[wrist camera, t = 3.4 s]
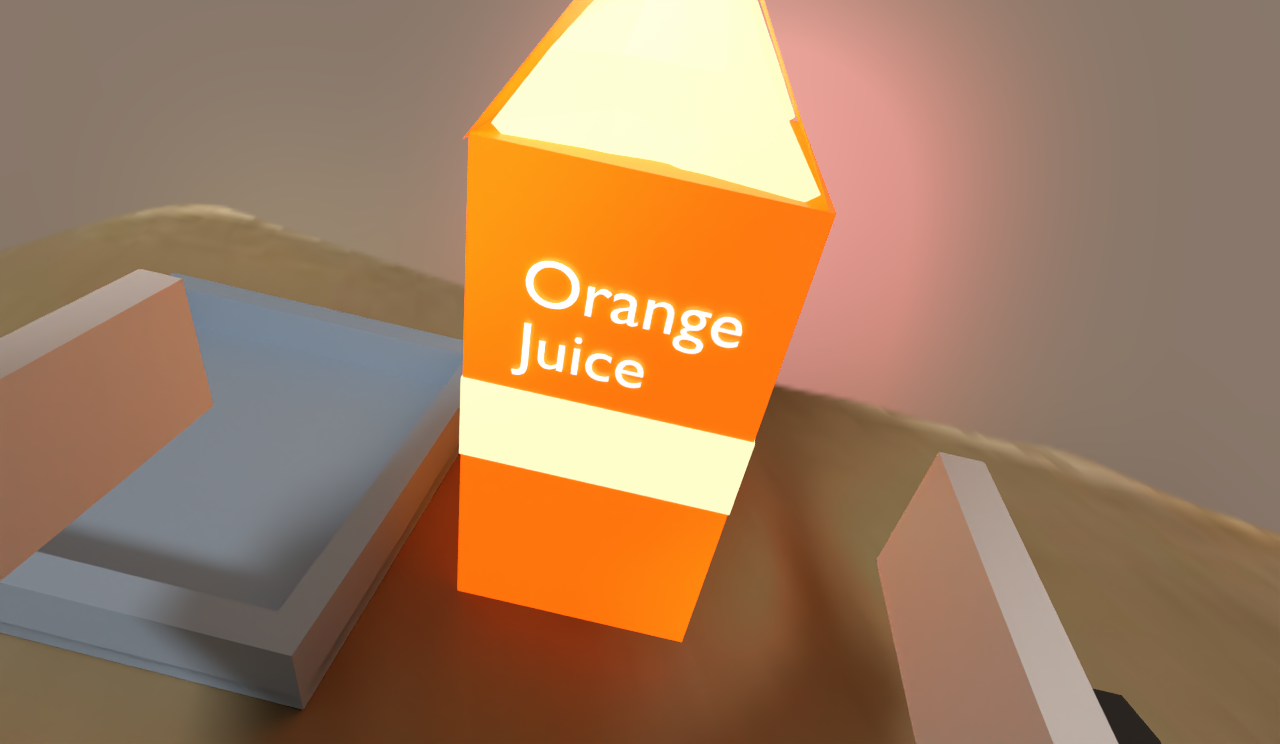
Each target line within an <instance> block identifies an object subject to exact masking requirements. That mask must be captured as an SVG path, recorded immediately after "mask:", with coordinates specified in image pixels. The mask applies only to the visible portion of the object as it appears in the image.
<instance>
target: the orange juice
mask: <svg viewBox="0 0 1280 744" xmlns="http://www.w3.org/2000/svg"><path fill="white" fill-rule="evenodd" d="M760 1H761V5H762V8H763V11H764V14H765V18H766V21H767V24H768V27H769V30H770V33H771V37H772V40H773V43H774V46H775V49H776V53H777V55H778V59H779V62H780V65H781V69H782V72H783V75H784V78H785V81H786V84H787V88H788V91H789V94H790V97H791V100H792V104H793V107H794V110H795V113H796V117H797V120H798V122H797V121H792V120H791V119H792V118H794V117H795V115H794V112H793V108H792V105H791V102H790V100H789V96H788V93H787V90H786V86H785V83H784V80H783V77H782V74H781V70H780V67H779V64H778V61H777V58H776V54H775V52H774V48H773V46H772V42H771V39H770V36H769V33H768V30H767V27H766V24H765V22H764V18H763V15H762V12H761V9H760V7H759V3H758V0H573V2H572V3H571V4H570V5H569V7H568V8H567V9H566V10H565V12H564V13H563V14H562V15H561V17H560V18H559V19H558V20H557V22H556V23H555V24H554V26H553V27H552V28H551V29H550V30H549V32H548V33H547V34H546V35H545V37H544V38H543V39H542V41H541V42H540V43H539V44H538V45H537V47H536V48H535V49H534V50H533V52H532V53H531V54H530V55H529V57H528V58H527V59H526V60H525V62H524V63H523V64H522V66H521V67H520V68H519V69H518V70H517V72H516V73H515V74H514V75H513V77H512V78H511V79H510V80H509V82H508V83H507V84H506V86H505V87H504V88H503V89H502V91H501V92H500V93H499V94H498V95H497V97H496V98H495V99H494V101H493V102H492V103H491V104H490V106H489V107H488V108H487V109H486V111H485V112H484V113H483V114H482V116H481V117H480V118H479V119H478V121H477V122H476V123H475V124H474V126H473V127H472V128H471V130H470V131H469V132H468V133H467V134H466V136H465V137H467V136H469V148H468V149H469V150H468V190H467V191H468V192H467V227H466V228H467V229H466V267H465V268H466V269H465V305H464V345H463V375H462V376H461V384H460V426H459V454H461V462H460V502H459V541H458V580H457V590H458V591H463V592H467V593H471V594H476V595H480V596H484V597H489V598H493V599H497V600H502V601H506V602H510V603H514V604H519V605H523V606H527V607H532V608H536V609H540V610H545V611H549V612H553V613H558V614H562V615H566V616H571V617H575V618H579V619H584V620H588V621H592V622H596V623H601V624H605V625H609V626H614V627H618V628H622V629H627V630H631V631H635V632H640V633H644V634H648V635H653V636H657V637H661V638H666V639H670V640H674V641H678V642H682V640H683V637H684V634H685V632H686V629H687V626H688V623H689V621H690V618H691V615H692V612H693V609H694V607H695V604H696V601H697V598H698V596H699V593H700V590H701V587H702V584H703V582H704V579H705V576H706V573H707V571H708V568H709V565H710V562H711V559H712V557H713V554H714V551H715V548H716V546H717V543H718V540H719V537H720V535H721V532H722V529H723V526H724V523H725V521H726V518H727V515H730V512H731V509H732V506H733V504H734V501H735V498H736V495H737V492H738V490H739V487H740V484H741V481H742V479H743V476H744V473H745V470H746V468H747V465H748V462H749V459H750V457H751V454H752V451H753V448H754V446H755V437H756V435H757V432H758V429H759V426H760V424H761V421H762V418H763V415H764V412H765V410H766V407H767V404H768V401H769V399H770V396H771V393H772V390H773V387H774V385H775V382H776V379H777V376H778V374H779V371H780V368H781V364H782V362H783V360H784V357H785V354H786V351H787V349H788V346H789V343H790V340H791V338H792V335H793V332H794V329H795V326H796V324H797V321H798V318H799V315H800V313H801V310H802V307H803V304H804V301H805V299H806V296H807V293H808V290H809V287H810V285H811V282H812V279H813V276H814V274H815V271H816V268H817V265H818V263H819V260H820V257H821V254H822V251H823V249H824V246H825V243H826V240H827V238H828V235H829V232H830V229H831V227H832V224H833V221H834V218H835V215H836V212H835V209H834V207H833V204H832V201H831V199H830V196H829V193H828V191H827V188H826V185H825V183H824V180H823V178H822V175H821V172H820V169H819V167H818V164H817V161H816V159H815V156H814V153H813V151H812V148H811V145H810V143H809V140H808V137H807V135H806V132H805V129H804V127H803V124H802V121H801V118H800V115H799V111H798V108H797V105H796V102H795V99H794V96H793V92H792V89H791V86H790V82H789V79H788V76H787V73H786V69H785V66H784V63H783V60H782V57H781V53H780V50H779V47H778V44H777V40H776V37H775V34H774V31H773V27H772V24H771V21H770V18H769V15H768V12H767V8H766V5H765V2H764V0H760ZM465 137H464V138H465Z"/></svg>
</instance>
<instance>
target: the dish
mask: <svg viewBox="0 0 1280 744" xmlns="http://www.w3.org/2000/svg"><path fill="white" fill-rule="evenodd" d="M169 276H173V277H177V278H182V279H183V283H184V287H185V291H186V295H187V300H188V304H189V308H190V312H191V316H192V320H193V324H194V328H195V332H196V336H197V340H198V344H199V348H200V352H201V356H202V360H203V364H204V368H205V373H206V377H207V381H208V385H209V389H210V393H211V397H212V401H213V405H214V406H213V407H211V408H210V409H209V410H208V411H207V412H205V413H204V414H203V415H202V416H201V417H199V418H198V419H197V420H196V421H194V422H193V423H192V424H191V425H190V426H188V427H187V428H186V429H185V430H184V431H182V432H181V433H180V434H179V435H177V436H176V437H175V438H174V439H173V440H171V441H170V442H169V443H168V444H167V445H165V446H164V447H163V448H162V449H160V450H159V451H158V452H157V453H156V454H154V455H153V456H152V457H151V458H149V459H148V460H147V461H146V462H145V463H143V464H142V465H141V466H140V467H139V468H137V469H136V470H135V471H134V472H132V473H131V474H130V475H129V476H128V477H126V478H125V479H124V480H123V481H122V482H120V483H119V484H118V485H117V486H115V487H114V488H113V489H112V490H111V491H109V492H108V493H107V494H106V495H105V496H103V497H102V498H101V499H100V500H98V501H97V502H96V503H95V504H94V505H92V506H91V507H90V508H89V509H87V510H86V511H85V512H84V513H83V514H81V515H80V516H79V517H78V518H77V519H75V520H74V521H73V522H72V523H70V524H69V525H68V526H67V527H66V528H64V529H63V530H62V531H61V532H60V533H58V534H57V535H56V536H55V537H53V538H52V539H51V540H50V541H49V542H47V543H46V544H45V545H44V546H43V547H41V548H40V549H39V550H38V551H36V552H35V553H34V554H33V555H32V556H30V557H29V558H28V559H27V560H25V561H24V562H23V563H22V564H21V565H19V566H18V567H17V568H16V569H15V570H13V571H12V572H11V573H10V574H8V575H7V576H6V577H5V578H4V579H2V580H1V581H0V633H3V634H7V635H11V636H15V637H19V638H23V639H27V640H31V641H35V642H39V643H43V644H47V645H51V646H55V647H58V648H62V649H66V650H70V651H74V652H78V653H82V654H86V655H90V656H94V657H98V658H102V659H106V660H110V661H113V662H117V663H121V664H125V665H129V666H133V667H137V668H141V669H145V670H149V671H153V672H157V673H161V674H165V675H168V676H172V677H176V678H180V679H184V680H188V681H192V682H196V683H200V684H204V685H208V686H212V687H216V688H219V689H223V690H227V691H231V692H235V693H239V694H243V695H247V696H251V697H255V698H259V699H263V700H267V701H271V702H274V703H278V704H282V705H286V706H290V707H294V708H298V709H302V710H304V708H305V707H306V705H307V703H308V702H309V700H310V698H311V697H312V695H313V693H314V692H315V690H316V689H317V687H318V685H319V684H320V682H321V680H322V679H323V677H324V675H325V674H326V672H327V670H328V669H329V667H330V665H331V664H332V662H333V661H334V659H335V657H336V656H337V654H338V652H339V651H340V649H341V647H342V646H343V644H344V642H345V641H346V639H347V637H348V636H349V634H350V633H351V631H352V629H353V628H354V626H355V624H356V623H357V621H358V619H359V618H360V616H361V614H362V613H363V611H364V609H365V608H366V606H367V605H368V603H369V601H370V600H371V598H372V596H373V595H374V593H375V591H376V590H377V588H378V586H379V585H380V583H381V581H382V580H383V578H384V577H385V575H386V573H387V572H388V570H389V568H390V567H391V565H392V563H393V562H394V560H395V558H396V557H397V555H398V553H399V552H400V550H401V548H402V547H403V545H404V544H405V542H406V540H407V539H408V537H409V535H410V534H411V532H412V530H413V529H414V527H415V525H416V524H417V522H418V520H419V519H420V517H421V516H422V514H423V512H424V511H425V509H426V507H427V506H428V504H429V502H430V501H431V499H432V497H433V496H434V494H435V492H436V491H437V489H438V488H439V486H440V484H441V483H442V481H443V479H444V478H445V476H446V474H447V473H448V471H449V469H450V468H451V466H452V464H453V463H454V461H455V460H456V458H457V456H458V455H459V426H460V384H461V376H462V375H463V345H464V341H463V340H459V339H455V338H450V337H446V336H442V335H438V334H433V333H429V332H425V331H421V330H416V329H412V328H408V327H403V326H399V325H395V324H391V323H386V322H382V321H378V320H374V319H369V318H365V317H361V316H357V315H352V314H348V313H344V312H340V311H335V310H331V309H327V308H322V307H318V306H314V305H310V304H305V303H301V302H297V301H293V300H288V299H284V298H280V297H276V296H271V295H267V294H263V293H259V292H254V291H250V290H246V289H241V288H237V287H233V286H229V285H224V284H220V283H216V282H212V281H207V280H203V279H199V278H195V277H190V276H186V275H182V274H178V273H172V274H171V275H169Z"/></svg>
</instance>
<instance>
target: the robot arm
mask: <svg viewBox="0 0 1280 744" xmlns="http://www.w3.org/2000/svg"><path fill="white" fill-rule="evenodd" d="M213 406H214V405H213V401H212V397H211V393H210V389H209V385H208V381H207V377H206V373H205V368H204V364H203V360H202V356H201V352H200V348H199V344H198V340H197V336H196V332H195V328H194V324H193V320H192V316H191V312H190V308H189V304H188V300H187V295H186V291H185V287H184V283H183V279H182V278H177V277H173V276H169V275H164V274H160V273H156V272H151V271H147V270H142V269H138V270H136V271H134V272H132V273H130V274H128V275H126V276H124V277H122V278H120V279H118V280H116V281H114V282H112V283H110V284H108V285H106V286H104V287H102V288H100V289H98V290H96V291H94V292H92V293H90V294H88V295H86V296H84V297H82V298H80V299H78V300H76V301H74V302H72V303H70V304H68V305H66V306H64V307H62V308H60V309H58V310H56V311H54V312H52V313H50V314H48V315H46V316H44V317H42V318H40V319H38V320H36V321H34V322H32V323H30V324H28V325H26V326H24V327H22V328H20V329H18V330H16V331H14V332H12V333H10V334H8V335H6V336H4V337H1V338H0V581H1V580H2V579H4V578H5V577H6V576H7V575H8V574H10V573H11V572H12V571H13V570H15V569H16V568H17V567H18V566H19V565H21V564H22V563H23V562H24V561H25V560H27V559H28V558H29V557H30V556H32V555H33V554H34V553H35V552H36V551H38V550H39V549H40V548H41V547H43V546H44V545H45V544H46V543H47V542H49V541H50V540H51V539H52V538H53V537H55V536H56V535H57V534H58V533H60V532H61V531H62V530H63V529H64V528H66V527H67V526H68V525H69V524H70V523H72V522H73V521H74V520H75V519H77V518H78V517H79V516H80V515H81V514H83V513H84V512H85V511H86V510H87V509H89V508H90V507H91V506H92V505H94V504H95V503H96V502H97V501H98V500H100V499H101V498H102V497H103V496H105V495H106V494H107V493H108V492H109V491H111V490H112V489H113V488H114V487H115V486H117V485H118V484H119V483H120V482H122V481H123V480H124V479H125V478H126V477H128V476H129V475H130V474H131V473H132V472H134V471H135V470H136V469H137V468H139V467H140V466H141V465H142V464H143V463H145V462H146V461H147V460H148V459H149V458H151V457H152V456H153V455H154V454H156V453H157V452H158V451H159V450H160V449H162V448H163V447H164V446H165V445H167V444H168V443H169V442H170V441H171V440H173V439H174V438H175V437H176V436H177V435H179V434H180V433H181V432H182V431H184V430H185V429H186V428H187V427H188V426H190V425H191V424H192V423H193V422H194V421H196V420H197V419H198V418H199V417H201V416H202V415H203V414H204V413H205V412H207V411H208V410H209V409H210V408H211V407H213ZM876 561H877V566H878V571H879V575H880V580H881V585H882V589H883V594H884V599H885V603H886V608H887V612H888V617H889V622H890V626H891V631H892V636H893V640H894V645H895V650H896V654H897V659H898V663H899V668H900V673H901V677H902V682H903V687H904V691H905V696H906V701H907V705H908V710H909V714H910V719H911V724H912V728H913V733H914V738H915V742H916V744H1161V742H1160V740H1159V739H1158V738H1157V737H1156V736H1155V734H1154V733H1153V732H1152V731H1151V730H1150V728H1149V727H1148V726H1147V725H1146V724H1145V722H1144V721H1143V720H1142V719H1141V718H1140V717H1139V715H1138V714H1137V713H1136V712H1135V711H1134V709H1133V708H1132V707H1131V706H1130V705H1129V704H1128V702H1127V701H1126V700H1125V699H1124V698H1123V696H1122V695H1118V694H1113V693H1109V692H1105V691H1101V690H1096V689H1092V687H1091V685H1090V683H1089V681H1088V679H1087V677H1086V675H1085V672H1084V670H1083V668H1082V666H1081V664H1080V662H1079V660H1078V658H1077V656H1076V654H1075V651H1074V649H1073V647H1072V645H1071V643H1070V641H1069V639H1068V637H1067V635H1066V633H1065V630H1064V628H1063V626H1062V624H1061V622H1060V620H1059V618H1058V616H1057V614H1056V612H1055V609H1054V607H1053V605H1052V603H1051V601H1050V599H1049V597H1048V595H1047V593H1046V591H1045V588H1044V586H1043V584H1042V582H1041V580H1040V578H1039V576H1038V574H1037V572H1036V570H1035V567H1034V565H1033V563H1032V561H1031V559H1030V557H1029V555H1028V553H1027V551H1026V549H1025V546H1024V544H1023V542H1022V540H1021V538H1020V536H1019V534H1018V532H1017V530H1016V528H1015V525H1014V523H1013V521H1012V519H1011V517H1010V515H1009V513H1008V511H1007V509H1006V507H1005V504H1004V502H1003V500H1002V498H1001V496H1000V494H999V492H998V490H997V488H996V486H995V483H994V481H993V479H992V477H991V475H990V473H989V471H988V469H987V467H986V465H985V462H981V461H977V460H972V459H968V458H963V457H959V456H955V455H950V454H946V453H942V452H939V453H938V454H937V456H936V458H935V460H934V461H933V463H932V465H931V466H930V468H929V470H928V472H927V473H926V475H925V477H924V479H923V480H922V482H921V484H920V486H919V487H918V489H917V491H916V492H915V494H914V496H913V498H912V499H911V501H910V503H909V505H908V506H907V508H906V510H905V512H904V513H903V515H902V517H901V519H900V520H899V522H898V524H897V525H896V527H895V529H894V531H893V532H892V534H891V536H890V538H889V539H888V541H887V543H886V545H885V546H884V548H883V550H882V551H881V553H880V555H879V557H878V558H877V560H876Z"/></svg>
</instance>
